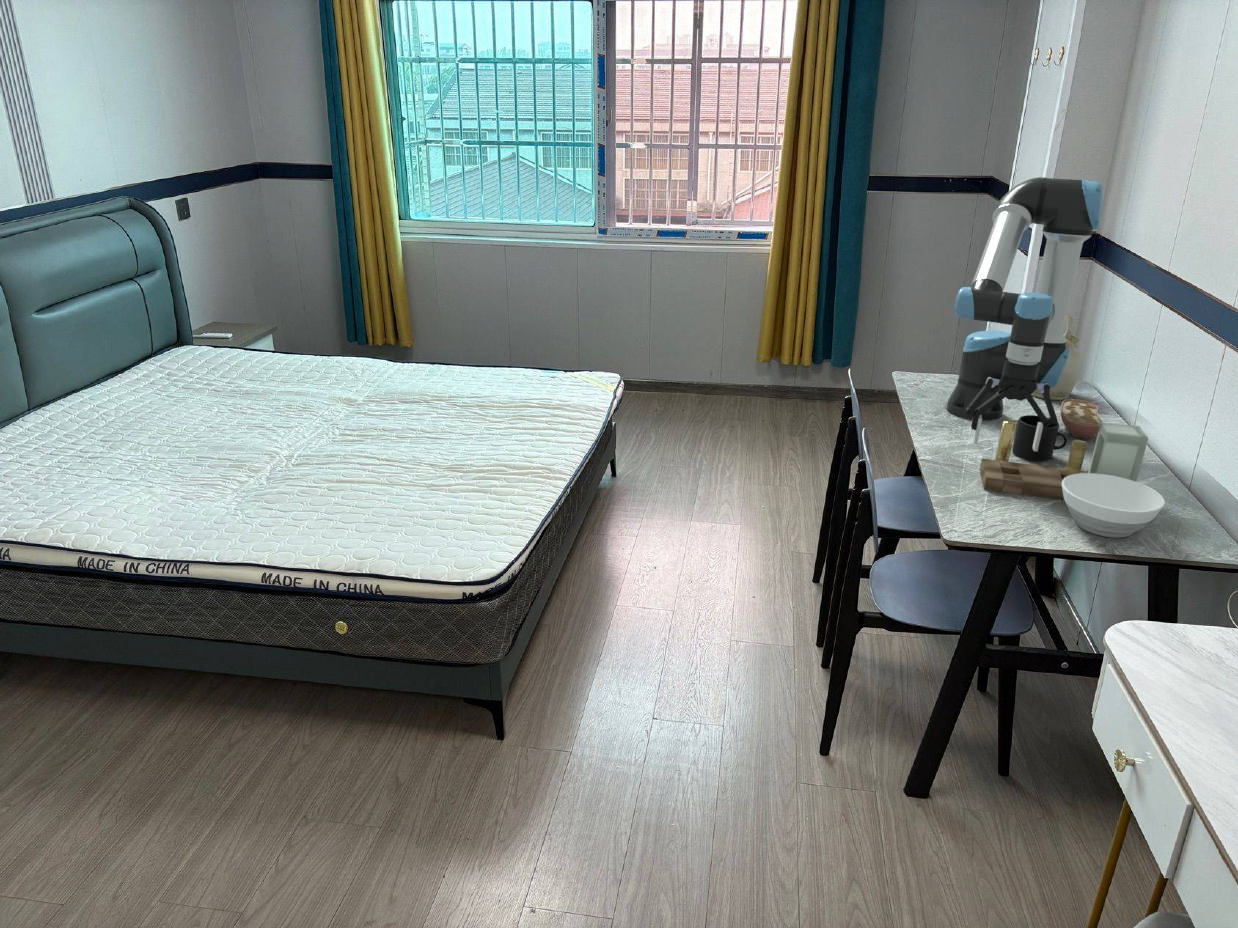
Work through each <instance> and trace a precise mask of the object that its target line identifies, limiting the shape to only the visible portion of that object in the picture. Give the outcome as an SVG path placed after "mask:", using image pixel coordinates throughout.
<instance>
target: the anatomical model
mask: <svg viewBox="0 0 1238 928" xmlns="http://www.w3.org/2000/svg"><path fill="white" fill-rule="evenodd" d="M1098 411H1099V406H1098V405H1097V404H1096V403H1094V402H1092V401H1088V400H1083V399H1076V398H1075V399H1074V398H1067V399H1064V400H1062V403H1061V405H1060V418H1061V421H1062V423H1063V425H1064V427H1065V429H1066V430H1067V431H1068V433H1070V435H1072V436H1073V437H1076V438H1079V439H1089V438H1092V437H1094V436H1096V435H1098V431H1099V427H1100V423H1101V422H1103V420H1102V419H1101V417H1100V416H1099V413H1098Z"/></svg>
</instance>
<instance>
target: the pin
mask: <svg viewBox="0 0 1238 928" xmlns="http://www.w3.org/2000/svg"><path fill="white" fill-rule="evenodd" d="M1001 425H1002V426H1001V430H1000V434H999V439H998V444H997V449H996V453H995V454H996V455H995V459H994V460H998V461H1007V462H1010V461H1009V460H1010V456H1011V451H1012V448H1013V443H1014V439H1015V434H1016V429H1017V421H1014V420H1011V419H1003V421H1002V424H1001Z"/></svg>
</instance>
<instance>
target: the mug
mask: <svg viewBox="0 0 1238 928" xmlns="http://www.w3.org/2000/svg"><path fill="white" fill-rule="evenodd" d="M1046 418H1048V417H1046ZM1038 422H1042V421H1041V420H1040V418H1039V417H1038V415H1034V414H1031V415H1028V414H1027V415H1022V416H1020V417H1018V421H1017V424H1016V429H1015V434H1014V438H1013V443H1012V448H1011V451H1012V453H1013V455H1014V456H1016V457H1018V458H1021V459H1024V460H1027V461H1032V462H1033V461H1034V462H1047V461H1049V460H1051V459H1052V458H1053V456H1054V451H1056V450H1061V449H1063V448H1065V447H1066V446H1067V444H1068V437H1067V435H1066V434H1065V433H1063V432H1060V431H1059V429H1060V423H1059V421H1058V422H1057V424H1050V425H1049V426H1048V428H1047V432H1046V436H1045V438H1040V442H1039V447H1038V451H1034V450H1033V443H1034V438H1035V434H1036V429H1037V425H1038ZM1057 437H1061V438H1062V439H1063V443H1062V444H1061V445H1056V443H1057Z"/></svg>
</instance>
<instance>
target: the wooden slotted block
mask: <svg viewBox="0 0 1238 928" xmlns="http://www.w3.org/2000/svg"><path fill="white" fill-rule="evenodd" d="M1087 447H1088V442H1087V441H1084V440H1081V439H1074V440H1072V443H1071V447H1070V452H1069V456H1068V460H1067V464H1066V468H1065V467H1064V468H1062V467H1055V466H1047V465H1038V464H1031V463H1024V462H1023V463H1022V462H1015V461H1013V462H1012V461H1008V462H1007V461H998V460H995V459H989V458H981V462H980V466H979V474H980V477H981V482H982V487H983V490H985V491H994V492H1001V493H1011V494H1018V495H1025V496H1031V497H1033V496H1034V497H1041V498H1046V499H1047V498H1048V499H1056V500H1064V496H1063V490H1062V481H1063V479H1064V478H1065V477H1067V476H1069V475H1073V474H1079V473H1088V471H1089V470H1082V467H1083V463H1084V458H1085V456H1086V451H1087ZM1064 501H1065V500H1064Z"/></svg>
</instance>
